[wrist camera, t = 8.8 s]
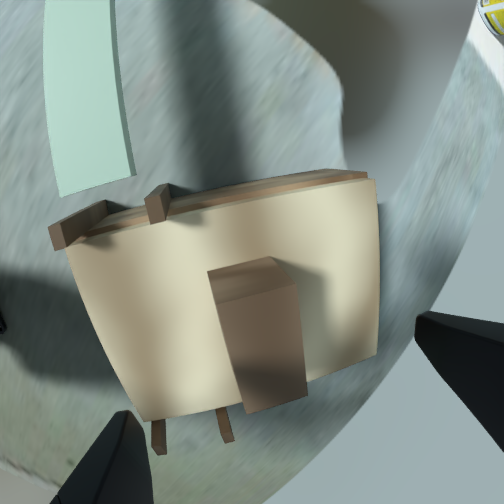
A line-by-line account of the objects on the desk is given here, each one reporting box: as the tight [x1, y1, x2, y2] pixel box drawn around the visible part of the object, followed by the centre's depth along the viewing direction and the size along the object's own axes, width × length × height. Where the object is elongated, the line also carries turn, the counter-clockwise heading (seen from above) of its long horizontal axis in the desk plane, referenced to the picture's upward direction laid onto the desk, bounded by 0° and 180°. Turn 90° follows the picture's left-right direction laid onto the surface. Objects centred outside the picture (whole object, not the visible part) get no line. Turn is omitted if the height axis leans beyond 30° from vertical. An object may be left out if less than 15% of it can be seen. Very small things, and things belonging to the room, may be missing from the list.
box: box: [48, 169, 367, 455], centre depth 17 cm, size 16×14×8 cm
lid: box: [65, 178, 380, 422], centre depth 14 cm, size 16×11×5 cm
